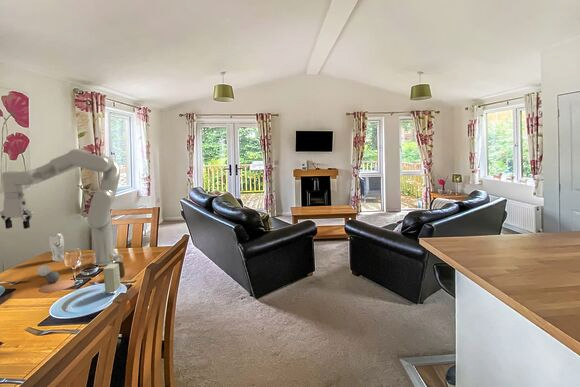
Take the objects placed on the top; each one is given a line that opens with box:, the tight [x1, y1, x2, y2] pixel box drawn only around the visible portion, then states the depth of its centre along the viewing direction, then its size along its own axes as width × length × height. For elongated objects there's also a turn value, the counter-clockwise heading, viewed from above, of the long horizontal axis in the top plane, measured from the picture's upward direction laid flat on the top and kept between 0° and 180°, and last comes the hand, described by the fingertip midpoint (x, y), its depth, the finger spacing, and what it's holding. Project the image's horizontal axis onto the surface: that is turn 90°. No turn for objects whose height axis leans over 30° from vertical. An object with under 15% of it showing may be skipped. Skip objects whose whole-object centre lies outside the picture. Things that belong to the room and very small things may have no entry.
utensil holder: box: [109, 254, 126, 279], centre depth 168 cm, size 6×6×12 cm
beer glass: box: [48, 232, 65, 262], centre depth 196 cm, size 7×7×15 cm
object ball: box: [45, 271, 60, 283], centre depth 162 cm, size 6×6×6 cm
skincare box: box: [103, 263, 122, 294], centre depth 150 cm, size 6×4×12 cm
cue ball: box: [36, 264, 52, 277], centre depth 171 cm, size 6×6×6 cm
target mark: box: [38, 279, 76, 293], centre depth 158 cm, size 14×14×1 cm
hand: (18, 228), depth 175 cm, fingers open, 9 cm apart
